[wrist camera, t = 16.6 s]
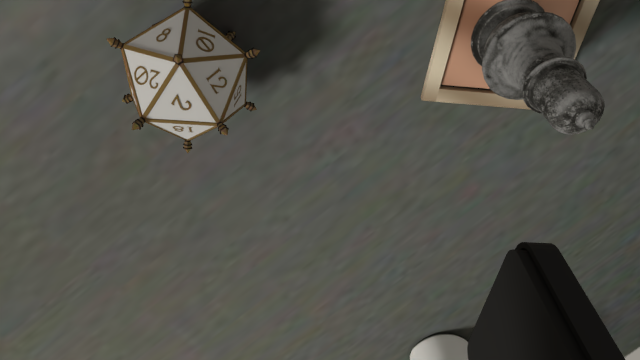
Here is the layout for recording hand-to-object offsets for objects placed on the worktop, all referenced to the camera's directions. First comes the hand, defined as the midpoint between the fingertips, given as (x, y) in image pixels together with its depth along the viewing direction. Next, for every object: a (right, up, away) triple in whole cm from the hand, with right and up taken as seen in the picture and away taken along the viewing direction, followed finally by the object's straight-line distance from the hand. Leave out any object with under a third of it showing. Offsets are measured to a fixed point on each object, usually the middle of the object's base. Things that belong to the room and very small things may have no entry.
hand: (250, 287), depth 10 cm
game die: (-7, +11, +27) cm, 30 cm away
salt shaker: (+14, +12, +28) cm, 33 cm away
